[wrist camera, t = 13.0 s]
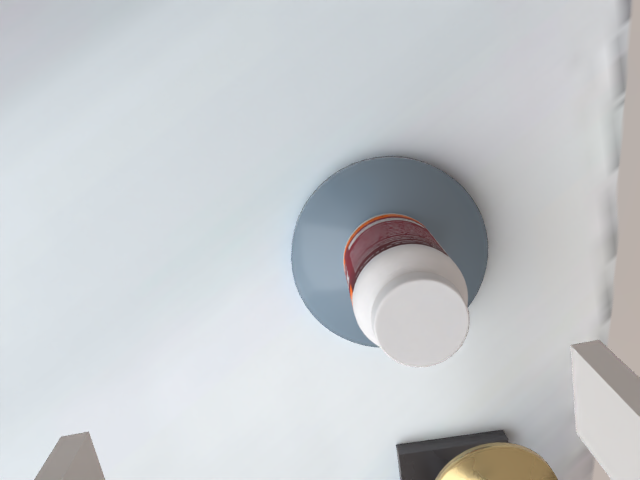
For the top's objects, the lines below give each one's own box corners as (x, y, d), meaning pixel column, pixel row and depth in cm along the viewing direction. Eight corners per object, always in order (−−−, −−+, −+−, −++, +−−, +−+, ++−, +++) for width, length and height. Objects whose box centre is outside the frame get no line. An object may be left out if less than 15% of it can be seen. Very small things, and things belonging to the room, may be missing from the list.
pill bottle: (322, 257, 39) (330, 325, 29) (390, 191, 38) (424, 235, 28) (387, 318, 41) (418, 404, 30) (455, 256, 40) (511, 321, 29)
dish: (277, 171, 39) (276, 174, 38) (475, 142, 39) (481, 145, 38) (306, 352, 43) (306, 360, 41) (488, 326, 42) (493, 333, 41)
